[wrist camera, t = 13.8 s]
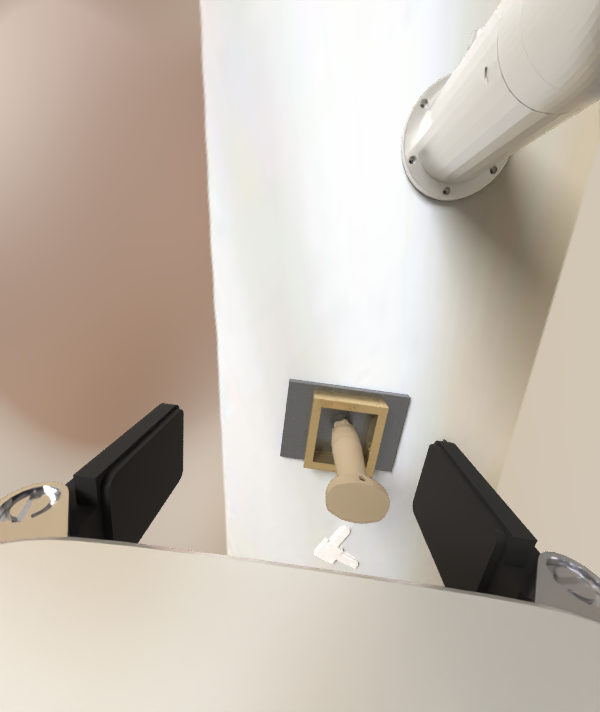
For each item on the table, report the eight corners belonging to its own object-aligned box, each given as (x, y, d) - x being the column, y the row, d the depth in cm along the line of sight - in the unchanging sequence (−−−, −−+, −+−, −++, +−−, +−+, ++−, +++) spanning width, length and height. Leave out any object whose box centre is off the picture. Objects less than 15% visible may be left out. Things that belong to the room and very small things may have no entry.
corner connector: (375, 538, 50) (377, 546, 49) (350, 566, 52) (351, 574, 51) (338, 518, 49) (338, 526, 48) (314, 547, 51) (314, 555, 50)
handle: (358, 445, 43) (381, 528, 29) (318, 436, 43) (321, 515, 29) (367, 418, 42) (395, 491, 27) (326, 408, 42) (332, 477, 27)
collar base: (289, 378, 42) (287, 389, 38) (407, 394, 42) (417, 406, 38) (280, 452, 45) (277, 468, 42) (389, 467, 45) (396, 485, 41)
